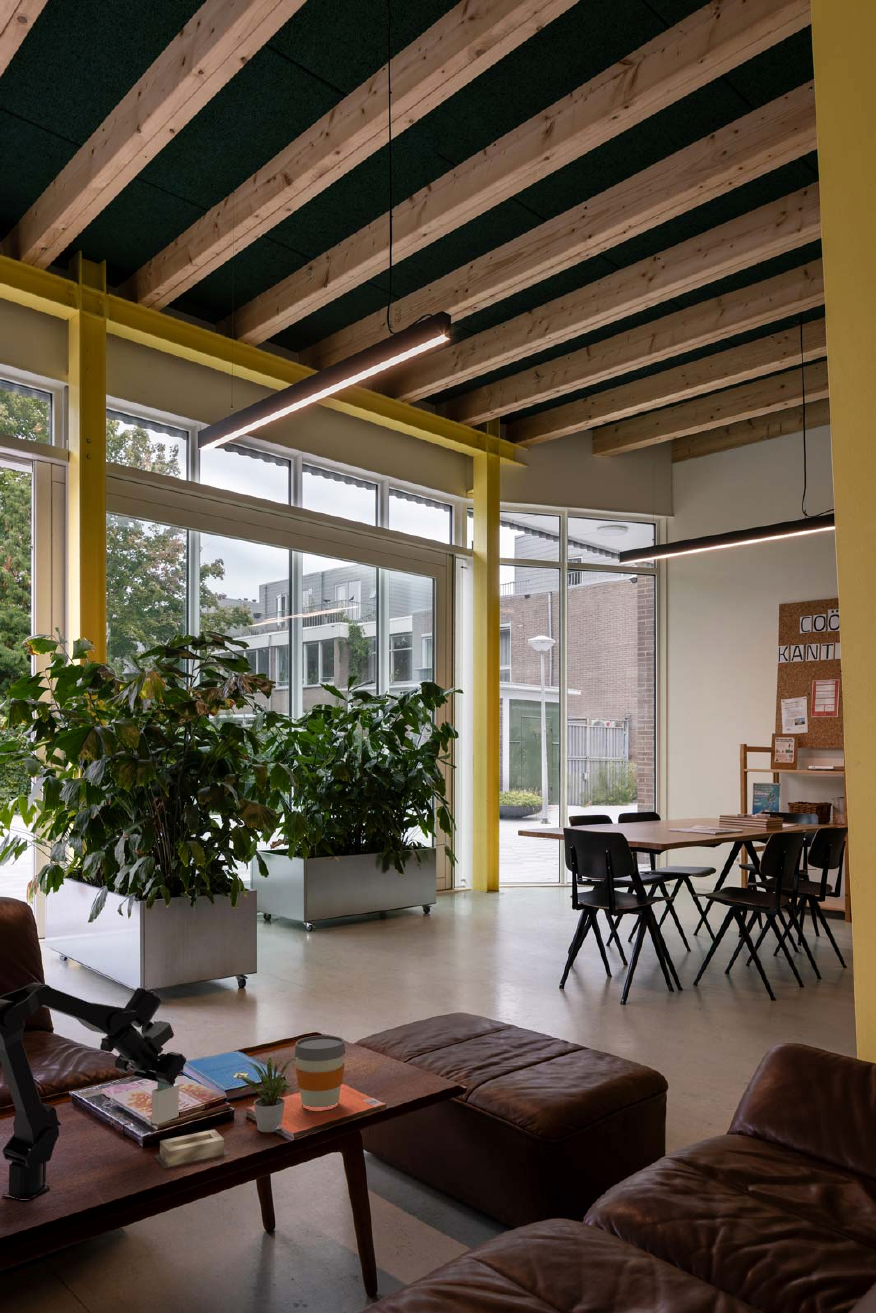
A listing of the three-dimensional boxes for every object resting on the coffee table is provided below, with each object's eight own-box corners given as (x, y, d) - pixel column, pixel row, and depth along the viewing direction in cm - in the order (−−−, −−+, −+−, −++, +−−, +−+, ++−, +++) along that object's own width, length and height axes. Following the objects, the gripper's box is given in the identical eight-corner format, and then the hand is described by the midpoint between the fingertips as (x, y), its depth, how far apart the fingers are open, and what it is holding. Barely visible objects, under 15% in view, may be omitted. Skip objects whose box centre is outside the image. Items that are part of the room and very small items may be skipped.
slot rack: (168, 1166, 202) (168, 1151, 202) (159, 1155, 208) (160, 1140, 208) (224, 1153, 208) (224, 1139, 208) (214, 1143, 214) (214, 1129, 214)
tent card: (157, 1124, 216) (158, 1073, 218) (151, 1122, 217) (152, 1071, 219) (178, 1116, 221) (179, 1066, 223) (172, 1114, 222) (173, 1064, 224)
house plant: (280, 1112, 234) (280, 1042, 236) (315, 1126, 224) (314, 1053, 226) (229, 1128, 224) (229, 1055, 226) (263, 1143, 214) (263, 1067, 216)
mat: (164, 1170, 201) (164, 1168, 201) (154, 1157, 208) (154, 1155, 208) (229, 1155, 208) (229, 1153, 208) (218, 1143, 215) (218, 1141, 215)
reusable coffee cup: (332, 1116, 230) (331, 1050, 232) (285, 1111, 234) (285, 1046, 236) (354, 1099, 242) (353, 1037, 244) (309, 1094, 246) (309, 1033, 248)
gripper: (180, 1017, 214) (217, 1056, 221) (126, 1007, 224) (164, 1045, 232) (150, 1063, 206) (190, 1102, 214) (96, 1050, 217) (136, 1088, 225)
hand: (170, 1082), depth 221 cm, fingers closed on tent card, 2 cm apart
